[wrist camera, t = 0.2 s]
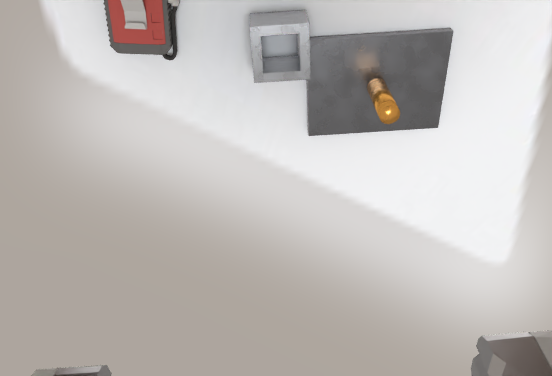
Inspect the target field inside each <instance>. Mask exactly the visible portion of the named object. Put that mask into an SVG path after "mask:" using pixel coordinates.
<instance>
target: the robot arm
mask: <svg viewBox="0 0 552 376" xmlns="http://www.w3.org/2000/svg"><path fill="white" fill-rule="evenodd" d="M476 347H477V349H478V352H479V354H478V355H477V356H476V357H475V358H473V361H472V366H471V373H472V376H552V331H549V330H547V331H537V332H518V333H508V334H496V335H486V336H481V337H480V338H479V339H478V342H477V345H476ZM31 376H111V372H110V370H109V368H108V366H107V365H100V366H85V367H69V368H52V369H38V370H36V371H35V372H34V373H33V374H32V375H31Z"/></svg>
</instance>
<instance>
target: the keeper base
mask: <svg viewBox="0 0 552 376" xmlns="http://www.w3.org/2000/svg"><path fill="white" fill-rule="evenodd" d="M452 36H453V30H452V29H451V28H445V29H429V30H414V31H398V32H383V33H367V34H352V35H337V36H321V37H310V79H307V103H308V135H309V136H315V135H331V134H347V133H362V132H378V131H394V130H410V129H425V128H438V124H439V118H440V112H441V105H442V99H443V93H444V86H445V80H446V74H447V68H448V61H449V55H450V49H451V42H452Z"/></svg>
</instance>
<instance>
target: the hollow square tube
mask: <svg viewBox="0 0 552 376" xmlns="http://www.w3.org/2000/svg"><path fill="white" fill-rule="evenodd" d="M286 34H297V46H298V55H297V56H281V57H265V58H263V56H262V42H261V36H270V35H286ZM250 38H251V49H252V61H253V73H254V83H260V82H275V81H291V80H306V79H310V31H309V20H308V16H307V13H306V10H296V11H281V12H265V13H250Z"/></svg>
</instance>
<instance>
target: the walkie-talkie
mask: <svg viewBox="0 0 552 376" xmlns="http://www.w3.org/2000/svg"><path fill="white" fill-rule="evenodd" d="M170 3H172V6H173V10H171V4H170ZM104 5H105V10H106V16H107V19H106V21H107V22H108V24H107V26H108V31H109V37H110V40H109V41H110V42H111V44H110V46H111V47H112V48H113V49H114V50H115V51H116V52H117V53H126V54H153V55H163V57H164V58H165V59H167V60H173V59H174V58H175V57H176V54H177V42H176V28H175V12H176V10H177V6H178V5H179V0H104ZM172 44H173V55H171V56H170V55H167V54H166V53H167V52H168V51H169V50H170V48H171V47H172Z"/></svg>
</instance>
